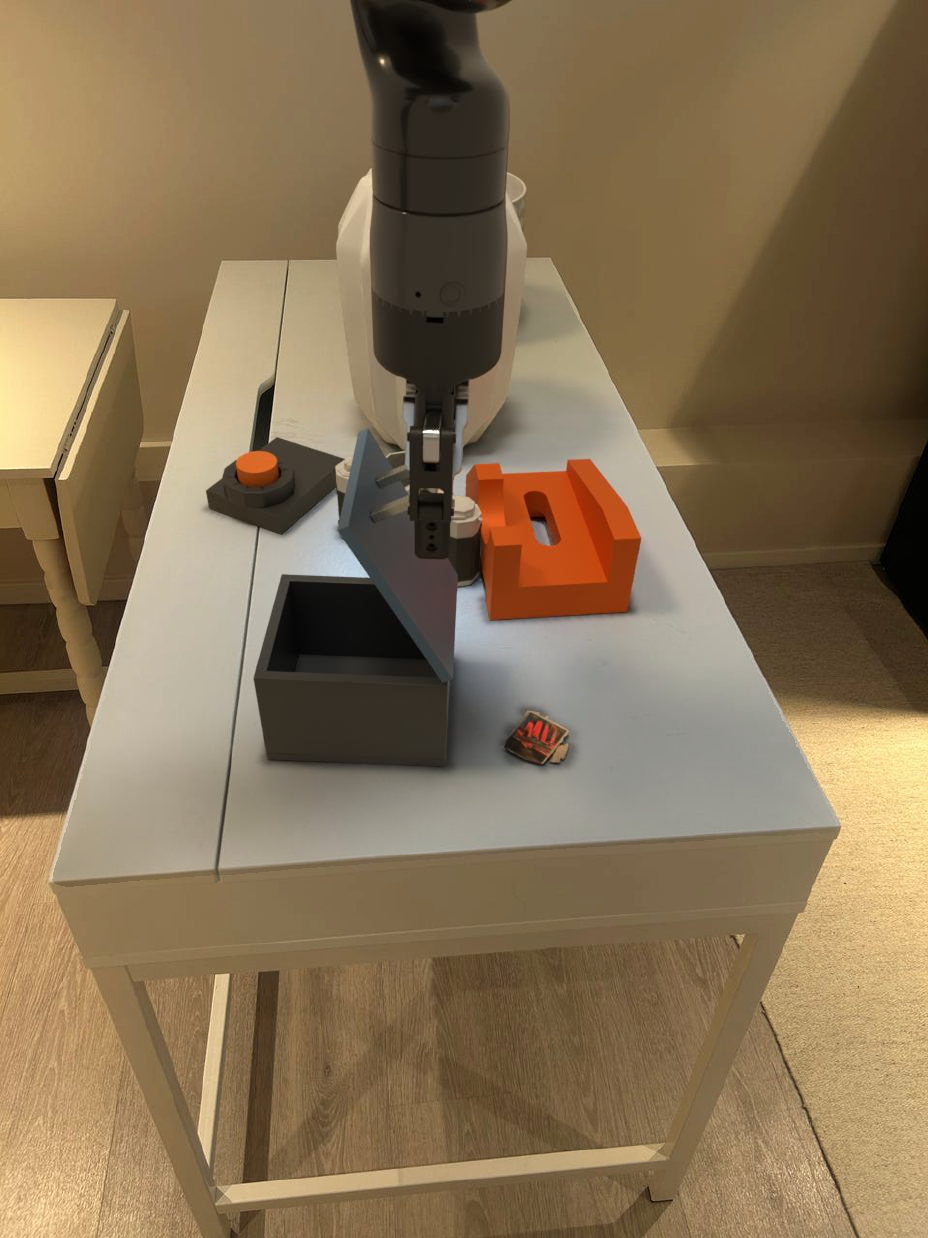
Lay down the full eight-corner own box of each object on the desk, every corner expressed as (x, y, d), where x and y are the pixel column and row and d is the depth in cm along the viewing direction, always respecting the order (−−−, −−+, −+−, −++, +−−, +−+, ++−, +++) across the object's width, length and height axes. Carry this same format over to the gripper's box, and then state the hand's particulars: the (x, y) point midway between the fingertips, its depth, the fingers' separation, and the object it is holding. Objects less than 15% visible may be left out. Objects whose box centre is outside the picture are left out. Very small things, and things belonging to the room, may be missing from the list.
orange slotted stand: (627, 611, 85) (641, 538, 80) (489, 620, 84) (494, 545, 78) (584, 499, 99) (593, 429, 93) (465, 505, 97) (467, 434, 92)
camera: (510, 550, 92) (517, 462, 85) (463, 597, 86) (467, 507, 80) (379, 497, 98) (376, 411, 91) (327, 537, 92) (319, 449, 86)
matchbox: (501, 754, 72) (501, 750, 72) (520, 708, 76) (520, 704, 75) (559, 771, 71) (560, 767, 71) (576, 724, 75) (577, 720, 74)
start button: (262, 492, 92) (260, 476, 90) (229, 480, 93) (227, 465, 92) (286, 472, 94) (285, 457, 93) (254, 461, 96) (252, 446, 94)
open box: (266, 759, 71) (253, 678, 65) (291, 654, 80) (281, 573, 74) (445, 766, 71) (447, 686, 65) (451, 660, 80) (453, 580, 74)
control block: (278, 537, 92) (274, 503, 89) (205, 510, 95) (199, 477, 92) (347, 476, 101) (345, 444, 98) (278, 454, 103) (275, 421, 101)
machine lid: (337, 530, 57) (416, 499, 55) (358, 431, 65) (426, 402, 64) (442, 683, 65) (513, 660, 64) (449, 577, 74) (511, 555, 72)
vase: (369, 487, 99) (356, 220, 81) (329, 400, 113) (311, 155, 95) (539, 460, 104) (564, 202, 86) (481, 379, 118) (492, 143, 99)
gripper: (382, 230, 57) (388, 458, 68) (356, 331, 47) (368, 582, 58) (504, 235, 57) (491, 462, 68) (506, 337, 47) (490, 587, 58)
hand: (435, 516), depth 63 cm, fingers open, 8 cm apart
